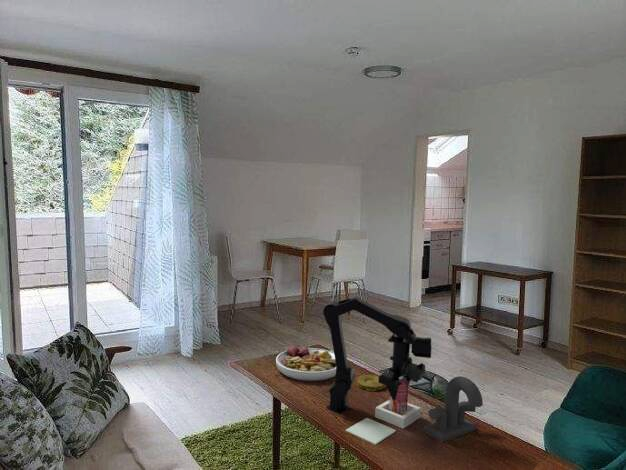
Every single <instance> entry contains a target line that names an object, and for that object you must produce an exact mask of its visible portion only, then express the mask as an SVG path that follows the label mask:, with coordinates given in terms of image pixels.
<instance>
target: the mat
mask: <svg viewBox="0 0 626 470" xmlns="http://www.w3.org/2000/svg"><path fill="white" fill-rule="evenodd" d="M345 432H347V433H348V434H352V435H353V436H355V437H358V438H360V439H361V440H363V441H366V442H368V443H370V444H372V445H374V446H376V445H377V444H380V442H382V441H383V440H386V438H388V437H390V436H391V435H393V434H394V433H396V432H397V430H396V429H394V428H392V427H389V426H388V425H385V424H383V423H380V422H377V421H375V420H373V419H371V418H368V417H366V418H364V419H363V420H360V421H359V422H357V423H355V424H353V425H351V426H350V427H348V428H346V429H345Z"/></svg>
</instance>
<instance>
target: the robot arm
mask: <svg viewBox="0 0 626 470" xmlns="http://www.w3.org/2000/svg"><path fill="white" fill-rule="evenodd" d="M351 311H355V312H357V313H360V314H361V315H363V316H365V317H367V318H369V319H371V320H373V321H375V322H376V323H378V324H380V325H383V326H384V327H385V328H386V329H387V331H389V332H391V333H392V334H391V335H390V336H388V339H387V342H388V343H392V355H391V356H390V357H389V360H390V361H391V362H392V364H391V365H392V366H391V367H389V372H387V371H385V372H384V373H381V374H380V375H378V376H379V379H378V382H379V383H381V384H384V385H386V388H387V390H388V393H389V396H390V395H391V397H392V400H394V401H395V399H396V396H397V389H398V387H399V386H400V385H401V384H400V383H399V378H400V377H402V376H403V377H405V378H407V381H408V387H409V385H410V383H411V382H413V383H418V382H419V381H421V380H422V379H423V377H424V375H426V365H425V364H424V363H423V362H421V363H419V364H417V363H413V358H412V357H410V352H411V354H412V355H413V356H414V357H416V358H427V359H431V358H432V337H419V336H417V334H416V332H415V330H413V328H412V324H411V321H410V320H409V319H408V318H406V317H404V316H400V315H398V314H391V313H388V312H386V311H385V310H382V309H379V308H378V307H377V306H374V305H373V304H371V303H369V302H366V301H364V300H363V299H361V298H360V297H358V296H353V297H350V298H347V299H342V300H339V301H337V300H331V301H329V302H328V303H327V304H326V305H325V306H324V307H323V310H322V314H323V317H324V320H325V323H326V324H327V326H328V328H329V330H330V331H329V332H330V336H331V343H332V349H333V352H334V355H335V361H336V375H335V376H334V378H335V380H334V381H333V383H332V384H331V386H330V388H329V390H328V392H329V405H327V406H326V409H328V410H330V411H332V412H335V413H337V414H342V413H344V412H347V411H348V410H350V409H351V405H349V403H348V400H349V399H348V398H349V394H348V392H349V391H350V390H351V389H352V386H353V384H354V381H355V380H356V378H357V377H356V374H355V366H354V365H353V366H350V364H349V362H348V357H347V351H346V346H345V340H344V334H343V333H344V332H343V326H342V324H343V323H342V321H343V315H345V314H346V313H350V312H351ZM410 346H411V347H410ZM410 348H411V349H410ZM410 350H411V351H410ZM390 372H392V373H390Z"/></svg>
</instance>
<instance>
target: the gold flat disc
mask: <svg viewBox="0 0 626 470" xmlns="http://www.w3.org/2000/svg"><path fill="white" fill-rule="evenodd" d="M379 376H380V375H375V374H364V375H360V376H358V377H356V386H357V387H359V388H362V389H364V390H366V391H368V392H376V391H379V390H383V389H385V388H387V386H386V385H384V384H381V383H379V382H378V379H379Z"/></svg>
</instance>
